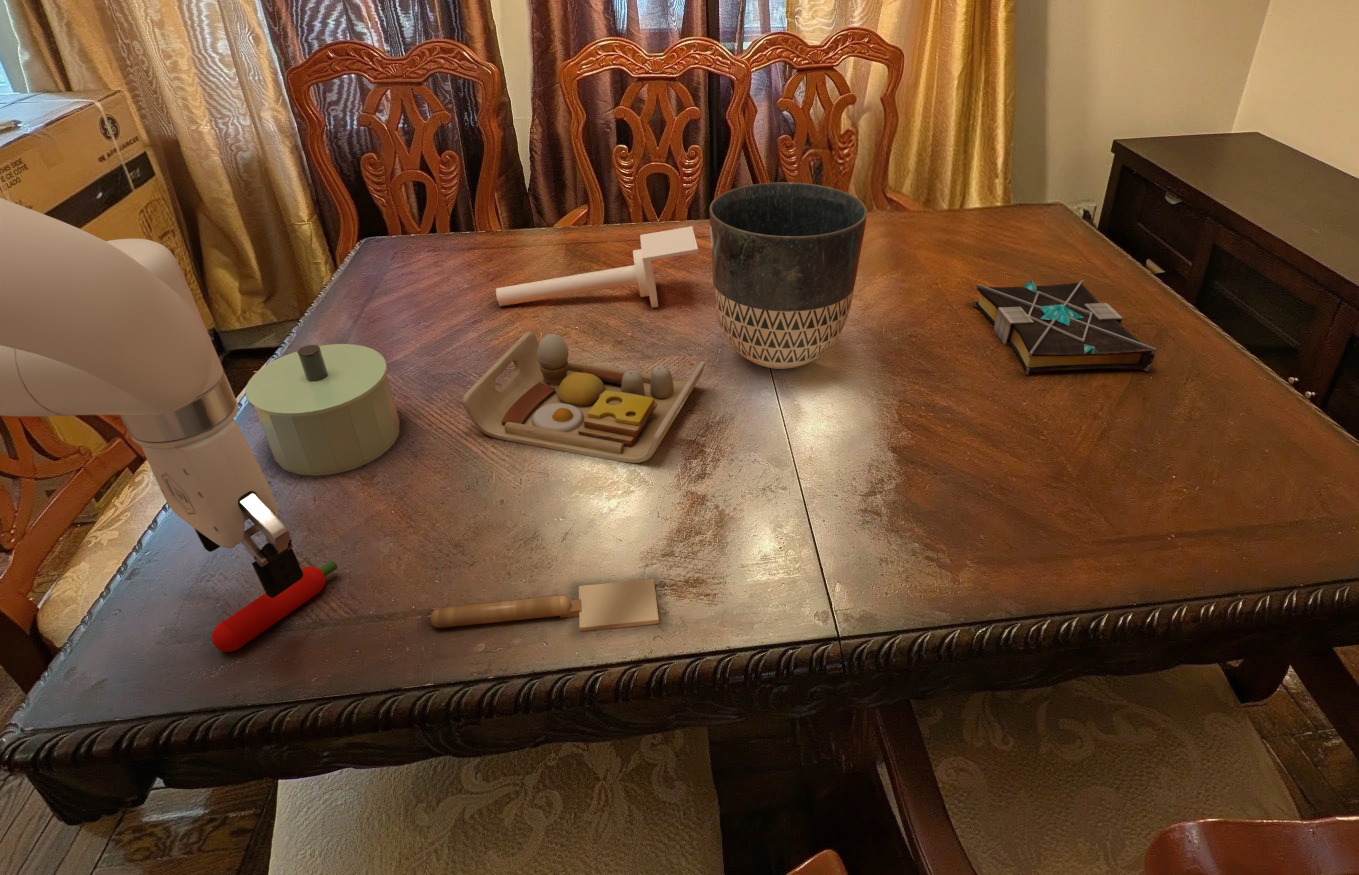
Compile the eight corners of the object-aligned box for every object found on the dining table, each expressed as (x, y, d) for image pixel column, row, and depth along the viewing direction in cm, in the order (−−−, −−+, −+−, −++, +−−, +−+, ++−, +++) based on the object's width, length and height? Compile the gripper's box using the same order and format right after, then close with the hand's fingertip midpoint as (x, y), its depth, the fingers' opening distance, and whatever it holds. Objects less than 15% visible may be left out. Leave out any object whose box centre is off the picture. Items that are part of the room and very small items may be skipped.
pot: (322, 491, 90) (299, 429, 85) (249, 448, 97) (224, 389, 92) (424, 429, 99) (409, 370, 94) (351, 394, 106) (334, 337, 101)
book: (1150, 372, 107) (1162, 339, 104) (1024, 377, 106) (1033, 344, 104) (1077, 300, 124) (1086, 270, 122) (970, 304, 124) (976, 274, 121)
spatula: (428, 647, 72) (424, 634, 70) (436, 604, 76) (432, 591, 75) (659, 623, 73) (658, 610, 72) (653, 582, 77) (653, 569, 76)
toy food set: (467, 434, 98) (456, 381, 94) (534, 362, 112) (526, 313, 108) (662, 470, 92) (660, 415, 87) (707, 389, 106) (707, 338, 101)
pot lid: (300, 437, 85) (286, 401, 82) (221, 394, 92) (207, 359, 89) (415, 374, 95) (407, 340, 92) (336, 340, 102) (326, 307, 100)
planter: (686, 376, 108) (684, 223, 96) (738, 315, 123) (742, 175, 110) (826, 407, 102) (843, 246, 89) (864, 338, 116) (883, 192, 103)
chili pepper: (229, 663, 71) (217, 642, 69) (212, 649, 72) (200, 628, 70) (347, 580, 79) (339, 559, 77) (329, 568, 80) (321, 548, 78)
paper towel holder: (697, 248, 119) (487, 284, 120) (705, 301, 125) (503, 335, 125) (692, 226, 127) (494, 259, 128) (699, 276, 132) (508, 308, 133)
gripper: (74, 392, 63) (162, 549, 73) (190, 469, 54) (271, 634, 65) (169, 351, 68) (239, 504, 78) (288, 417, 59) (350, 578, 70)
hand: (254, 563), depth 71 cm, fingers open, 9 cm apart
